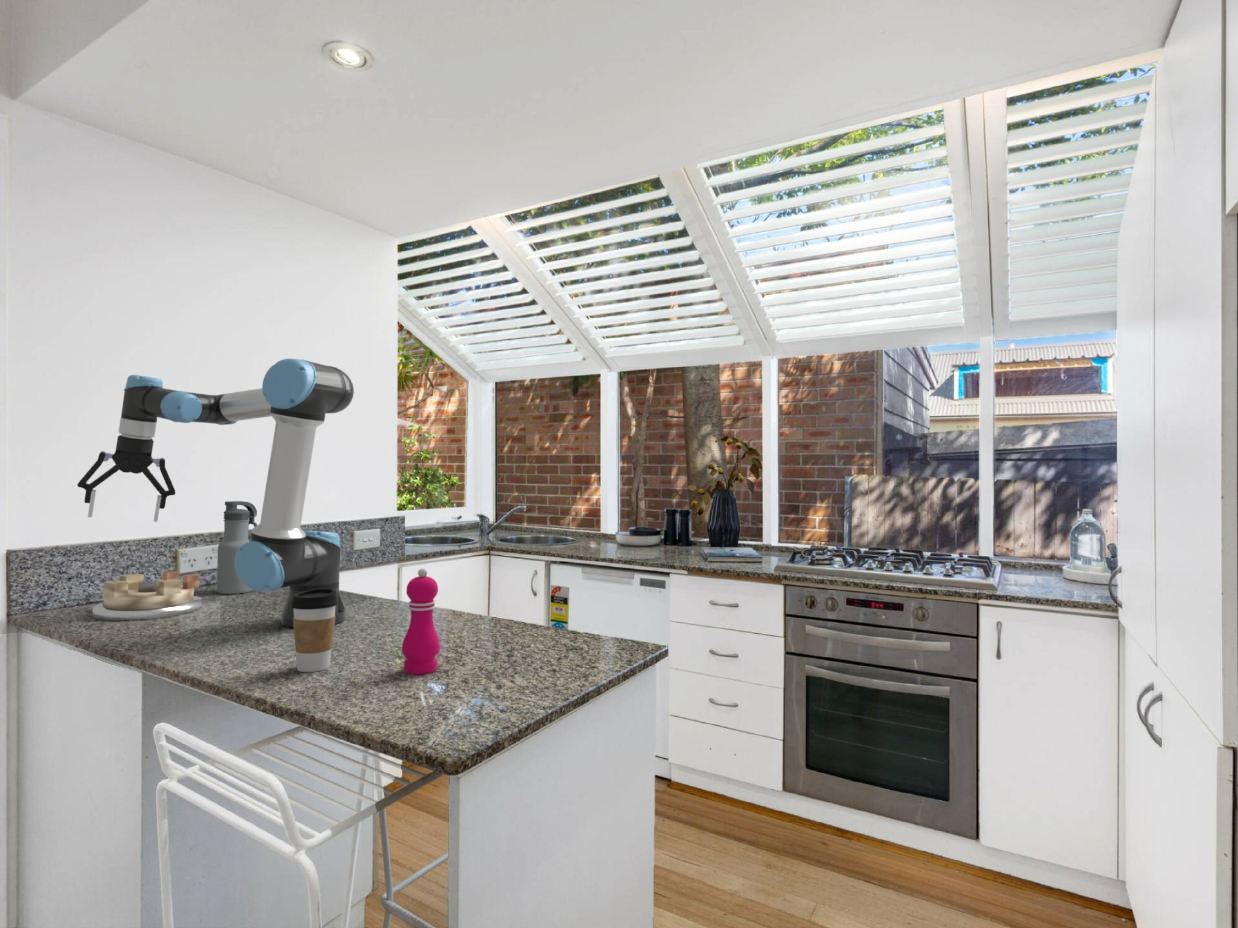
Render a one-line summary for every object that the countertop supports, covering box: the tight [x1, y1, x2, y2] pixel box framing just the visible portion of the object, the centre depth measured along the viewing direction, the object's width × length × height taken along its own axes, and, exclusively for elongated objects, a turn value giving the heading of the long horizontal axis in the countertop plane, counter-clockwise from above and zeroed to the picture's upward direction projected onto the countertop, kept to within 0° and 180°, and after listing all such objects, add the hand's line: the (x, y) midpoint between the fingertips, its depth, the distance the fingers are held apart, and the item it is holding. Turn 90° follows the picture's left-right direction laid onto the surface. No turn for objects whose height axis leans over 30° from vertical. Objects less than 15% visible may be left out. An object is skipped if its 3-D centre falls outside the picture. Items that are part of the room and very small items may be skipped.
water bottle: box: [216, 500, 258, 595], centre depth 210 cm, size 10×10×28 cm
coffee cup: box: [291, 588, 338, 673], centre depth 134 cm, size 8×8×15 cm
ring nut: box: [102, 570, 200, 610], centre depth 182 cm, size 20×20×6 cm
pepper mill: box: [401, 567, 441, 675], centre depth 134 cm, size 7×7×20 cm
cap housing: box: [92, 595, 203, 622], centre depth 182 cm, size 24×24×4 cm
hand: (123, 518), depth 173 cm, fingers open, 13 cm apart
